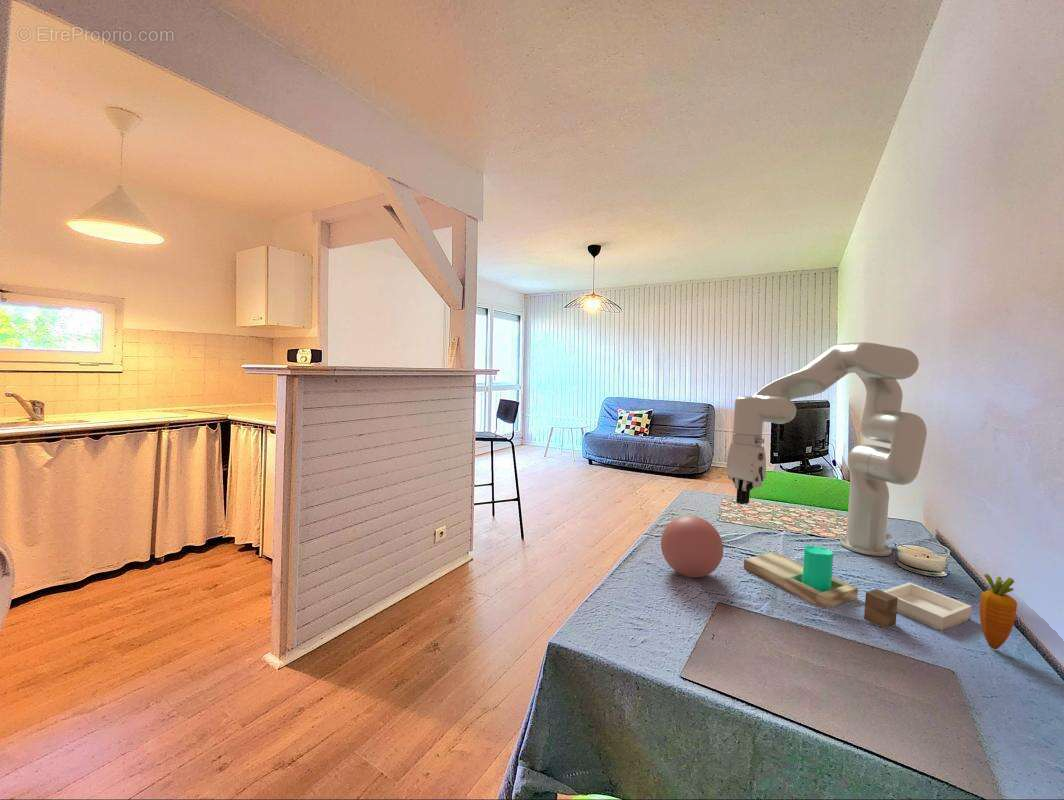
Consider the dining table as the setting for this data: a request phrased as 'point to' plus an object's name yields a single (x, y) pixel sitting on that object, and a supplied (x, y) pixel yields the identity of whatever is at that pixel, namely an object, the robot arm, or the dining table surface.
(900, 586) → the tray
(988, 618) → the carrot
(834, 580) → the wooden slotted peg board
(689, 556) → the brown egg
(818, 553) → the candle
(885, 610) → the block
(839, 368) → the robot arm
